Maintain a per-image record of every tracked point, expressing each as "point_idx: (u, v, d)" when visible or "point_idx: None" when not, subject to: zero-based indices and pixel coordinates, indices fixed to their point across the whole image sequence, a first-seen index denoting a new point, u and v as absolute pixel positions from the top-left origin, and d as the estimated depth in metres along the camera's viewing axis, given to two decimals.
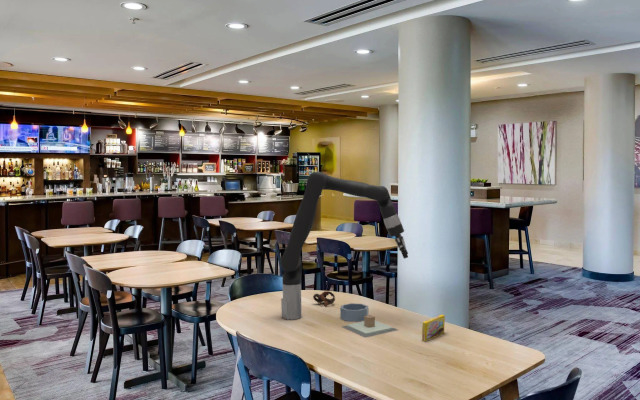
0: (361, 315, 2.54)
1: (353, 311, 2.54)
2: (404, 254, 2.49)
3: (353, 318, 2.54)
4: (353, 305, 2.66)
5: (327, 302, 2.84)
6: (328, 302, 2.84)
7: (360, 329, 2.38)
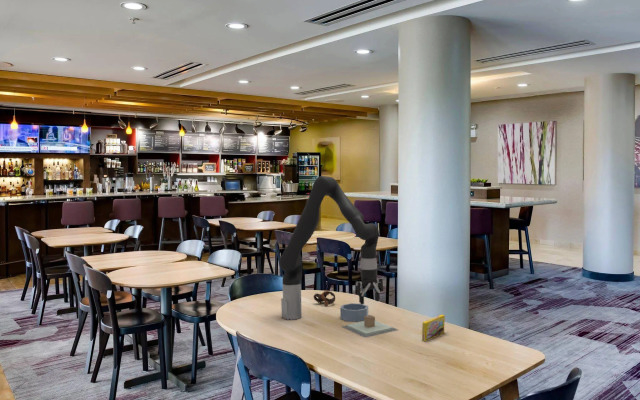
0: (361, 315, 2.54)
1: (353, 311, 2.54)
2: (360, 299, 2.39)
3: (353, 318, 2.54)
4: (353, 305, 2.66)
5: (327, 302, 2.84)
6: (328, 302, 2.85)
7: (360, 329, 2.38)
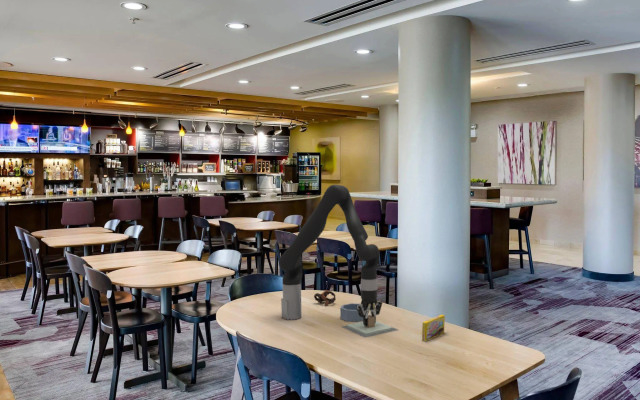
0: None
1: (353, 311, 2.54)
2: (364, 322, 2.41)
3: (353, 318, 2.54)
4: (353, 305, 2.66)
5: (328, 301, 2.85)
6: (329, 301, 2.85)
7: (360, 329, 2.38)
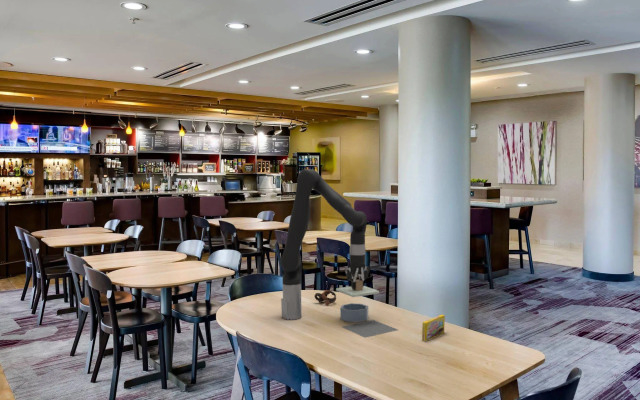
0: (361, 315, 2.54)
1: (353, 311, 2.54)
2: (352, 285, 2.52)
3: (353, 318, 2.54)
4: (353, 305, 2.66)
5: (328, 301, 2.86)
6: (329, 301, 2.86)
7: (348, 292, 2.49)
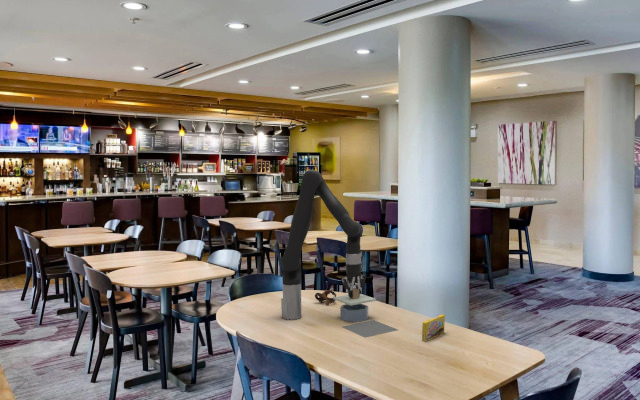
0: (361, 315, 2.54)
1: (353, 311, 2.54)
2: (349, 294, 2.58)
3: (353, 318, 2.54)
4: (353, 305, 2.66)
5: (329, 301, 2.86)
6: (330, 301, 2.86)
7: (345, 300, 2.55)
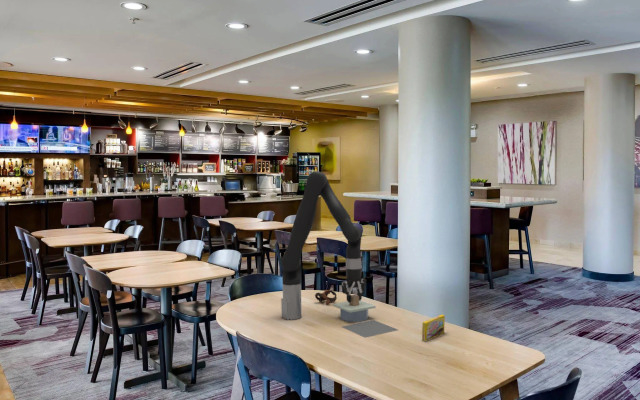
0: (361, 315, 2.54)
1: None
2: (347, 298, 2.58)
3: (353, 318, 2.54)
4: None
5: (329, 301, 2.87)
6: (330, 301, 2.87)
7: (345, 307, 2.55)
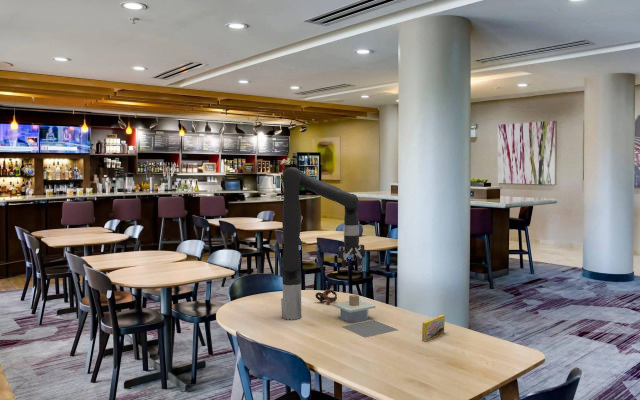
0: (361, 315, 2.54)
1: None
2: (342, 263, 2.59)
3: (353, 318, 2.54)
4: None
5: (330, 300, 2.87)
6: (331, 300, 2.88)
7: (345, 307, 2.55)
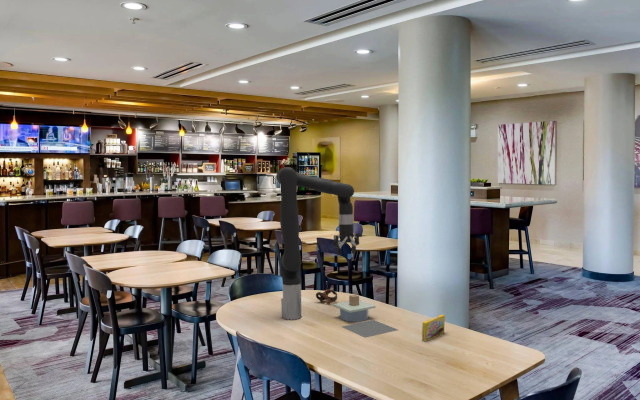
0: (361, 315, 2.54)
1: None
2: (338, 251, 2.68)
3: (353, 318, 2.54)
4: None
5: (330, 300, 2.88)
6: (331, 300, 2.88)
7: (345, 307, 2.55)
